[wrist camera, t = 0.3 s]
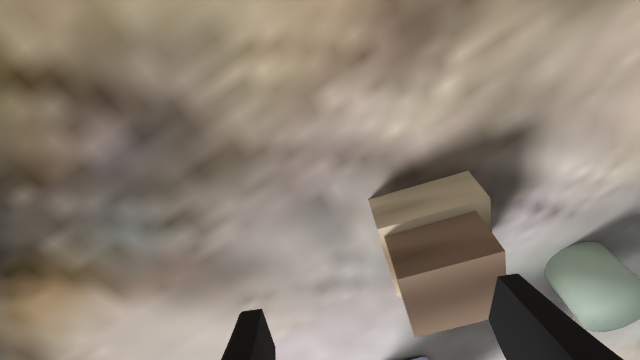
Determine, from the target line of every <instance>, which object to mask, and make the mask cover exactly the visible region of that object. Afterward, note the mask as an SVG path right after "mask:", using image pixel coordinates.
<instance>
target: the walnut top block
mask: <svg viewBox="0 0 640 360" xmlns="http://www.w3.org/2000/svg"><path fill="white" fill-rule="evenodd" d="M384 238H385V242H386V245H387V248H388V252H389V255H390V259H391V262H392V265H393V269H394V272H395V275H396V279H397V282H398V285H399V289H400V292H401V295H402V298H403V302H404V305H405V308H406V311H407V314H408V317H409V320H410V324H411V327H412V330H413V333H414V336H415V338H416V337H420V336H424V335H428V334H432V333H436V332H440V331H445V330H449V329H453V328H457V327H461V326H465V325H469V324H473V323H477V322H481V321H485V320H489V319H488V318H489V313H490V309H491V304H492V300H493V295H494V290H495V286H496V281H497V277H498V276H504V275H506V265H505V250H504V249H503V248H502V246H501V245H500V243H499V242H498V241H497V239H496V238H495V236H494V235H493V234H492V232H491V231H490V229H489V228H488V227H487V225H486V224H485V222H484V221H483V220H482V218H481V217H480V215H479V214H478V213H477V211H473V212H469V213H466V214H462V215H459V216H455V217H452V218H448V219H444V220H441V221H437V222H434V223H430V224H427V225H423V226H420V227H416V228H412V229H409V230H405V231H402V232H398V233H395V234H391V235H388V236H384Z"/></svg>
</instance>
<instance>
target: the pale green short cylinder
mask: <svg viewBox="0 0 640 360" xmlns="http://www.w3.org/2000/svg"><path fill="white" fill-rule="evenodd" d="M544 275H545V277H546V279H547V280H548V282H549V283H550V284H551V286H552V287H553V288H554V289H555V291H556V292H557V293H558V295H559V296H560V297H561V298H562V300H563V301H564V302H565V304H566V305H567V306H568V307H569V309H570V310H571V311H572V313H573V314H574V315H575V316H576V318H577V319H578V320H579V322H580V323H581V324H582V325H583V327H584V328H585V329H587V330H589V331H594V332H606V331H612V330H616V329H619V328H622V327H625V326H627V325H629V324H632V323H633V322H635V321H637V320H639V319H640V280H639V279H638V278H637V277H636V276H635V275H634V274H633V273H632V272H631V271H630V270H629V269H628V268H627V267H626V266H625V265H624V264H623V263H621V262H620V261H619V260H618V259H617V258H616V257H615V256H614V255H613V254H612V253H611V252H610V251H609V250H608V249H607V248H606V247H604V246H603V245H602V244H600V243H597V242H581V243H577V244H574V245H571V246H569V247H566V248H565V249H563V250H561V251H560V252H558V253H557V254H556V255H554V256H553V257H552V258H551V259H550V260H549V262H548V263H547V265H546V267H545V271H544Z"/></svg>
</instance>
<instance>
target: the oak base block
mask: <svg viewBox="0 0 640 360" xmlns="http://www.w3.org/2000/svg"><path fill="white" fill-rule="evenodd" d="M368 200H369V203H370V207H371V210H372V214H373V217H374V220H375V224H376V227H377V230H378V234H379V237H380V240H381V244H382V247H383V250H384V254H385V257H386V260H387V264H388V267H389V270H390V274H391V277H392V280H393V283H394V287H395V290H396V293H397V297H398V298H399V297H402V295H401V292H400V289H399V285H398V282H397V279H396V275H395V272H394V269H393V265H392V262H391V259H390V255H389V252H388V248H387V245H386V242H385V238H384V236H388V235H391V234H395V233H398V232H402V231H405V230H409V229H412V228H416V227H420V226H423V225H427V224H430V223H434V222H437V221H441V220H444V219H448V218H452V217H455V216H459V215H462V214H466V213H469V212H473V211H477V213H478V214H479V215H480V217H481V218H482V220H483V221H484V222H485V224H486V225H487V227H488V228H489V229H490V231H491V232H492V219H491V200H490V197H489V196H488V194H487V193H486V192H485V191H484V189H483V188H482V187H481V186H480V184H479V183H478V182H477V181H476V180H475V178H474V177H473V176H472V175H471V173H470V172H469V171H465V172H462V173H458V174H455V175H451V176H448V177H444V178H441V179H437V180H434V181H431V182H427V183H424V184H420V185H417V186H413V187H410V188H406V189H403V190H399V191H396V192H393V193H389V194H386V195H382V196H379V197H375V198H372V199H368Z"/></svg>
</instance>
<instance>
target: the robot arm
mask: <svg viewBox="0 0 640 360" xmlns="http://www.w3.org/2000/svg"><path fill="white" fill-rule="evenodd" d="M488 319H489V321H490V323H491V326H492V328H493V331H494V333H495V336H496V338H497V341H498V343H499V345H500V348H501V350H502V352H503V354H504V356H505V358H506V360H623V359H622V358H621V357H619V356H618V355H616V354H615V353H614V352H613V351H611V350H610V349H609V348H607V347H606V346H605V345H604V344H602V343H601V342H600V341H598V340H597V339H596V338H595V337H593V336H592V335H591V334H590V333H588V332H587V331H586V330H585V329H583V328H582V327H581V326H580V325H578V324H577V323H576V322H575V321H574V320H572V319H571V318H570V317H569V316H567V315H566V314H565V313H564V312H563V311H561V310H560V309H559V308H558V307H557V306H556V305H554V304H553V303H552V302H551V301H550V300H548V299H547V298H546V297H545V296H544V295H543V294H541V293H540V292H539V291H538V290H537V289H536V288H534V287H533V286H532V285H531V284H530V283H529V282H527V281H526V280H525V279H524V278H523V277H521V276H520V275H519V274H511V275H504V276H498V277H497V281H496V286H495V290H494V295H493V300H492V304H491V309H490V313H489V318H488ZM221 360H275V345H274V342H273V339H272V337H271V334H270V331H269V328H268V325H267V322H266V319H265V316H264V314H263V311H262V309H257V310H250V311H243V312H241V313H240V315H239V317H238V320H237V323H236V325H235V328H234V330H233V333H232V335H231V338H230V340H229V343H228V345H227V347H226V350H225V352H224V354H223V357H222V359H221ZM411 360H428V359H427V358H426V357H420V358H416V359H411Z"/></svg>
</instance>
